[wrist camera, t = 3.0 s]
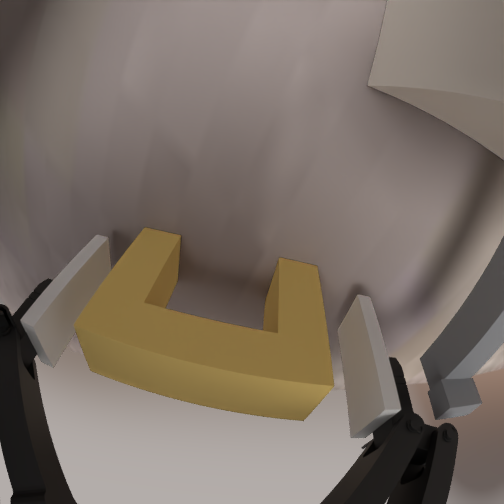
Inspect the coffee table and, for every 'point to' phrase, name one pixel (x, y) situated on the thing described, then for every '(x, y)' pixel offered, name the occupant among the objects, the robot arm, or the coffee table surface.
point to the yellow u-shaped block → (208, 337)
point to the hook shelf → (473, 125)
